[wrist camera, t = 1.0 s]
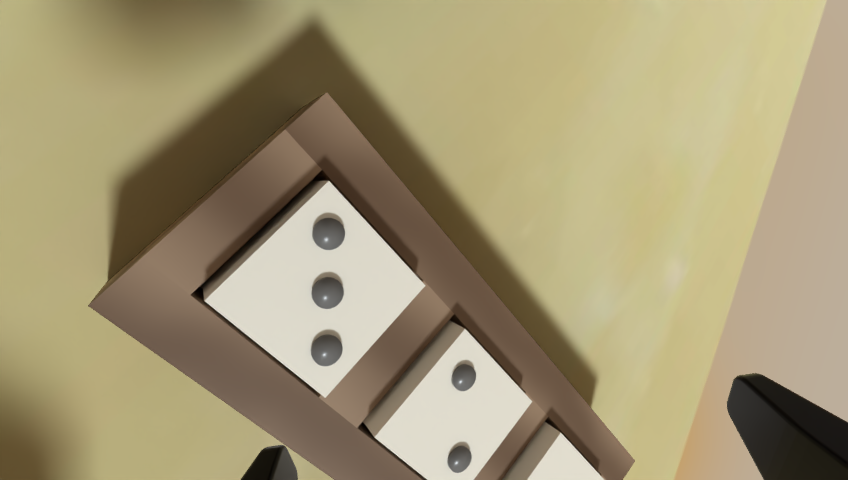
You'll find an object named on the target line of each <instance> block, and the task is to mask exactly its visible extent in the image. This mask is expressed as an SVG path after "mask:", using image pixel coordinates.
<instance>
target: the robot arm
mask: <svg viewBox="0 0 848 480" xmlns="http://www.w3.org/2000/svg"><path fill="white" fill-rule="evenodd" d="M727 409H728V413H729V415H730V417H731V419H732V421H733V423H734V425H735V426H736V428H737V430H738V432H739V434H740V436H741V438H742V440H743V442H744V443H745V445H746V447H747V449H748V451H749V453H750V455H751V456H752V458H753V460H754V462H755V464H756V466H757V468H758V470H759V472H760V473H761V475H762V477H763V479H764V480H848V422H846V421H844V420H843V419H841V418H839V417H837V416H835V415H833V414H832V413H830V412H828V411H826V410H825V409H823V408H821V407H819V406H817V405H816V404H814V403H812V402H810V401H808V400H807V399H805V398H803V397H801V396H799V395H798V394H796V393H794V392H792V391H790V390H789V389H787V388H785V387H783V386H781V385H780V384H778V383H776V382H774V381H773V380H771V379H769V378H767V377H765V376H763V375H761V374H757V373H755V374H754V373H752V374H746V375H739V376H737V377H736V378H735V379H734V381H733V384H732V388H731V391H730V394H729V397H728V401H727ZM241 480H298V476H297V470H296V467H295V465H294V463H293V461H292V459H291V456H290V454H289V452H288V450H287V448H286V447H285V446H284V445H278V446H271V447H266V448H264V449H263V450H262V451H261V452H260V453H259V454H258V456H257V457H256V459H255V460H254V462H253V463H252V464H251V466H250V467H249V469H248V470H247V471H246V473H245V474H244V476H243V477H242V478H241Z"/></svg>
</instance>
